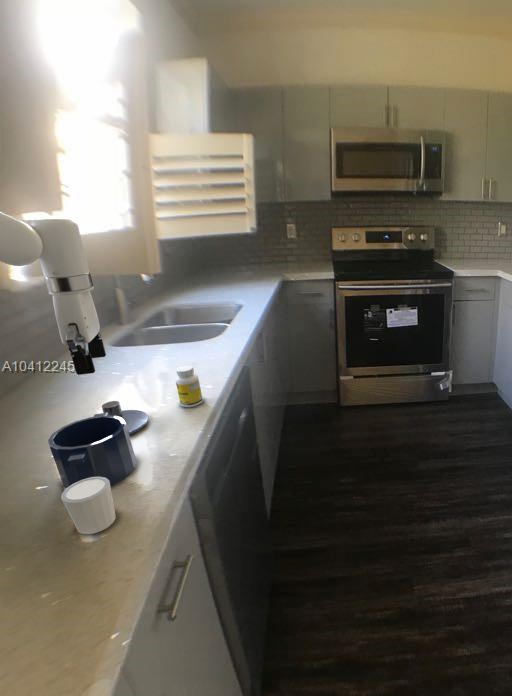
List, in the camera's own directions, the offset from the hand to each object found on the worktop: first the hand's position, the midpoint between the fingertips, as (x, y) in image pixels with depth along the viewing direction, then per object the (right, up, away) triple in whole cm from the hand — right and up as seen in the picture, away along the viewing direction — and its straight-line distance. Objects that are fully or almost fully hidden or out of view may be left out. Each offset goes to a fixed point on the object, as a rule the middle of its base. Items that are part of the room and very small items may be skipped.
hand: (92, 365), depth 96 cm
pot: (+5, -21, -5) cm, 23 cm away
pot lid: (-2, -14, +11) cm, 18 cm away
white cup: (+13, -27, -18) cm, 35 cm away
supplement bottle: (+11, -10, +23) cm, 27 cm away
